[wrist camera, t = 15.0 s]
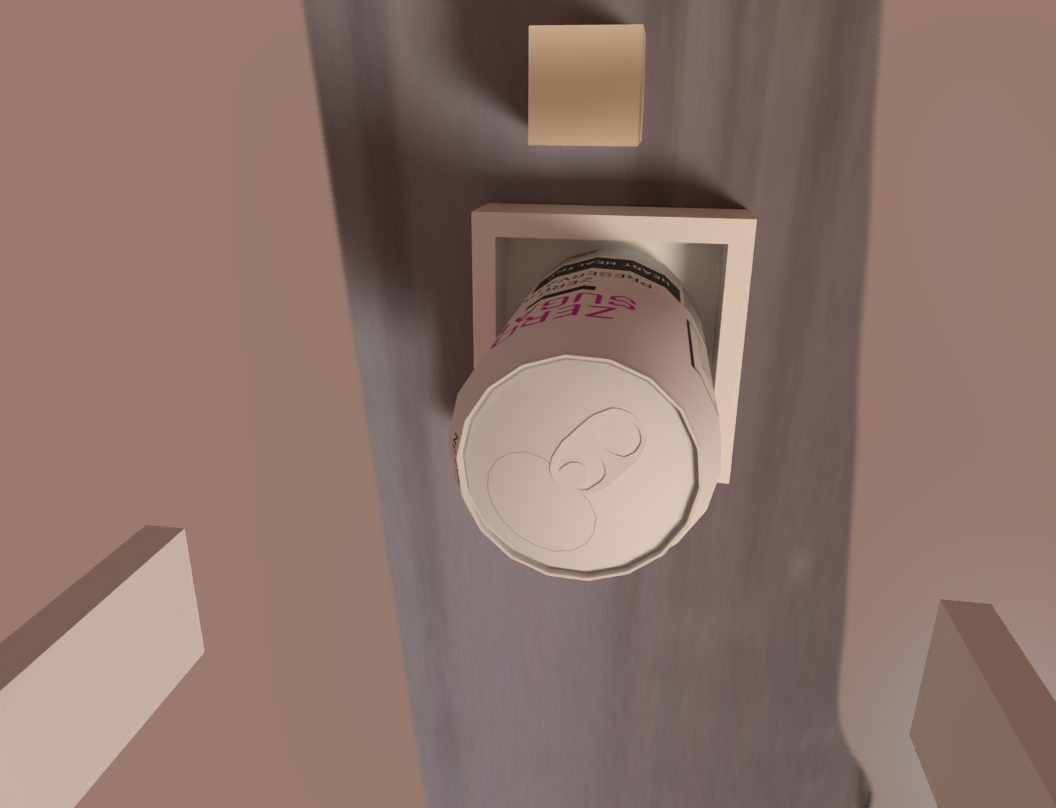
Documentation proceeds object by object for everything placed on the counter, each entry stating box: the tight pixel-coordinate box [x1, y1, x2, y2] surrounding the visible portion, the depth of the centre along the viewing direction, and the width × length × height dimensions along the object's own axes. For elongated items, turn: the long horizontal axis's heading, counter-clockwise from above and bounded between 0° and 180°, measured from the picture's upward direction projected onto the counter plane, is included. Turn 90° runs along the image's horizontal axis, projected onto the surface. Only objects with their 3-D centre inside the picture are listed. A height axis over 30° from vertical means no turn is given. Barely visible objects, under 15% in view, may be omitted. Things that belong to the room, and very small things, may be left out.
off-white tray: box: [471, 203, 757, 484], centre depth 36 cm, size 12×12×4 cm
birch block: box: [528, 24, 647, 146], centre depth 31 cm, size 4×4×6 cm
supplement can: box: [448, 248, 722, 581], centre depth 29 cm, size 8×8×15 cm
